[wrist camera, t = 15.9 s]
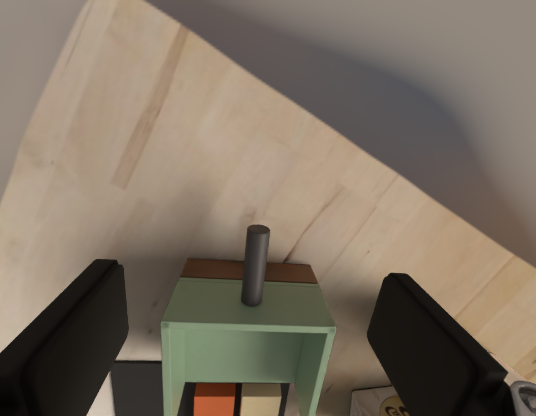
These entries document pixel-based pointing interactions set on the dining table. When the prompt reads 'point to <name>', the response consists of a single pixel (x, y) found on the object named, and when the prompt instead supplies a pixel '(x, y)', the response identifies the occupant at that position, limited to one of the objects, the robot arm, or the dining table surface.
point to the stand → (236, 268)
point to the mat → (160, 390)
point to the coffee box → (377, 403)
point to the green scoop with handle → (246, 331)
